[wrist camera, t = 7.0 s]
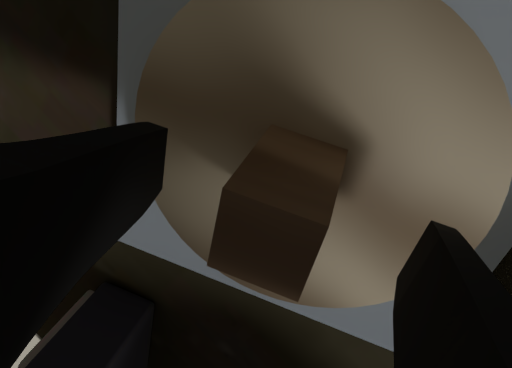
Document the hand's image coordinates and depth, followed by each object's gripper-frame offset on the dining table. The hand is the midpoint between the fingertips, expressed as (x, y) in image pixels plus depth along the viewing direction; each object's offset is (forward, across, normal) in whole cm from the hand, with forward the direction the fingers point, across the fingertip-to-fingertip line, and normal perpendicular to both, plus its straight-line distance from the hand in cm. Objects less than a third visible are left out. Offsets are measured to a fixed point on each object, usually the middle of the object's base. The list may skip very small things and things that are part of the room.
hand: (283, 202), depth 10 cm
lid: (+3, 0, 0) cm, 3 cm away
